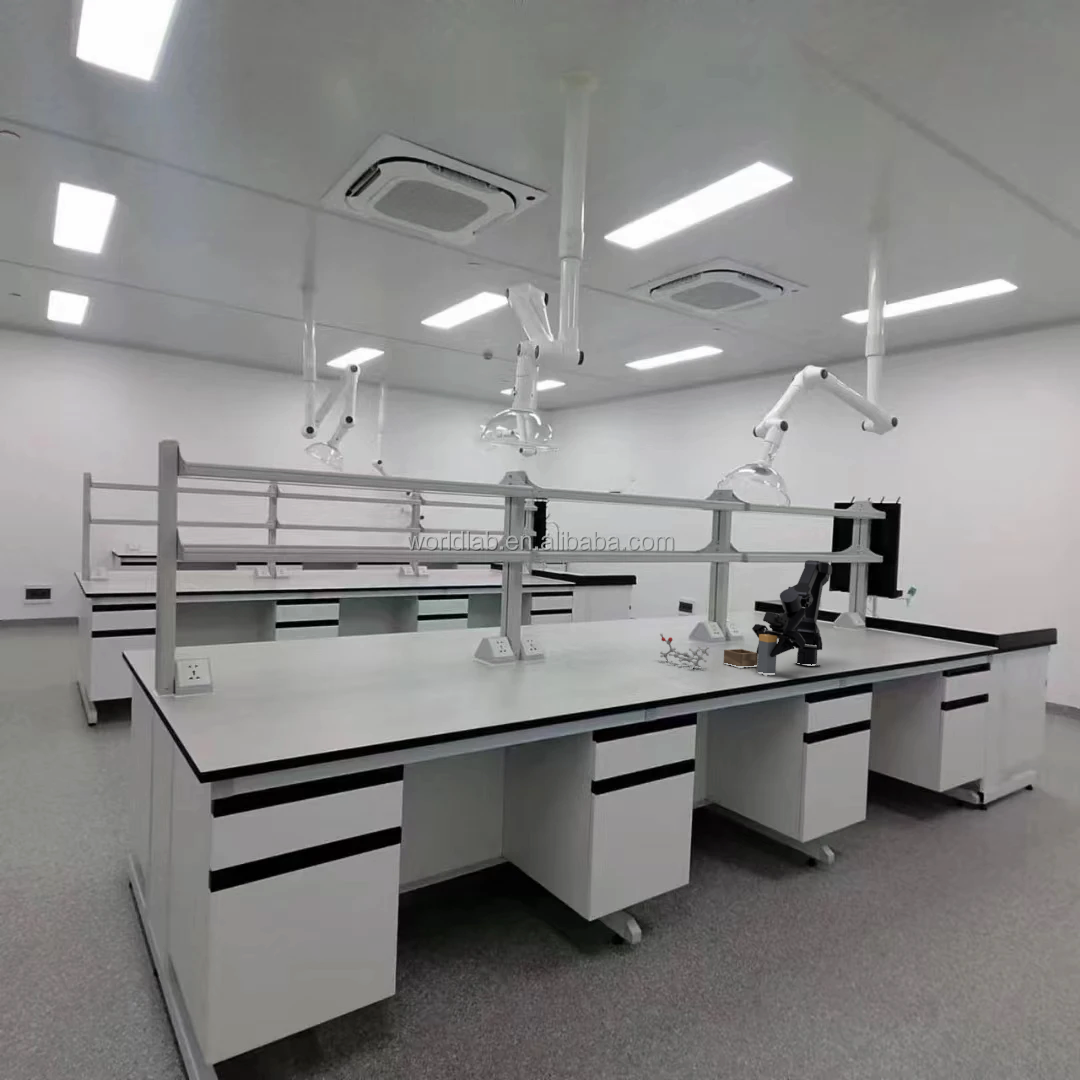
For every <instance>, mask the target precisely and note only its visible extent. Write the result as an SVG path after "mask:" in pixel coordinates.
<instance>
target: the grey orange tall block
mask: <svg viewBox="0 0 1080 1080" xmlns="http://www.w3.org/2000/svg"><path fill="white" fill-rule="evenodd" d="M777 643H778V639H777V636H775V635H770V634H759V638H758V644H759V647H758V646H757V647H758V663H757V667H756V669H757V671H758V672H763V673H775V674H776V670H777V669H776V668H777V666H776V665H777V655H776V656H774V657H771V656H770V654H771V652H772V650H773V649H774V647H775V646H776V644H777ZM757 671H756V672H757Z"/></svg>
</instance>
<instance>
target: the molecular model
mask: <svg viewBox="0 0 1080 1080" xmlns="http://www.w3.org/2000/svg"><path fill="white" fill-rule="evenodd" d="M659 635H660V637H661V641H662V642H666V645H668V646H669V651H667V652H663V651H660V653H659V654H660V656H659V657H660V658H665V661H666V660H667V661H668V660H669V659H668V657H671V656H672V657H674V658H676V659H677V658H678V662H679V663H682V662H684V661H685V662H688V663H693V665H692V667H693V668H694V667H695V668H696V667H698V668H699V667H701V668H702V665H700V664H699V662H700V661H701V660H702V661H703V662H704V663H707V659H706V658H703V657H704V656H703V655H704V654H705V655H706V656H710V654H709V652H707V651H708V650H709V649H710V646H709V645H707V646H706V648H704V649H703V648H702V646H700V645H699V646H698V647H697V649H696V650H693V648H692V647H689V648H688V651H690V652H691V653H692V655H691V654H689V652H688V651H685V652H680V651H679V650H676V649H677V648H676V647H672V645H671V643H672V641H674V640H673V637H671V636H670V637H668V639H666V637H664V634H663V633H662V632H660V633H659ZM700 650H701V654H700V655H699V654H698V652H700ZM695 656H696V657H695ZM694 660H696V661H694ZM668 662H669V661H668Z"/></svg>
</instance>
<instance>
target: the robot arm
mask: <svg viewBox="0 0 1080 1080" xmlns="http://www.w3.org/2000/svg"><path fill="white" fill-rule="evenodd" d="M832 574H833V566H832V565H831V564H830V563H829V562H828V561H820V560H810V559H808V560H805V561H804V568H803V570H802V572H801V574H800V577H799V580H798V581H797V584H795V585H792V586H788V587H787V589H784V590H783V591H781V593H779V599H780V602H781V604H782V605H781V606H782V608H783V610H784V613H783V612H779V613H776V612H771V611H766V612H765V614H764V616H763V619H762V621H763V622H765V623H767V624H768V627H769V628H768V627H767V626H766V625H765V624H759V623H755V624H754V625H753V626H752V628H751V629H752V631H753V632H754V633H755V635H756V637H757V638H758V639H759V634H770V635H775V636H777V644H776V646H775V647H774V649H773V650H772V652H771V654H770V656H771V657H774V656H776V657H777V656H778V655H780V654H783V653H785V652H787V651H790V650H794V649H795V648H796V649H797V656H796V657H797V658H796V662H797V663H800V664H811V665H812V664H816V663H817V662H818V651H822V650H823V640H822V636H821V633H820V628H819V626H818V624H817V621H818V615H819V609H820V604H821V597H822V593H823V587H824V586H825V585H826V584H827V583H829V581H830V576H831V575H832ZM770 629H771V630H770ZM758 647H759V643H758V644H757V647H756V651H755V652H756V653H757V654H758ZM817 664H818V663H817Z"/></svg>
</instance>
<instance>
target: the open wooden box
mask: <svg viewBox="0 0 1080 1080" xmlns="http://www.w3.org/2000/svg"><path fill="white" fill-rule="evenodd" d="M724 663H728V664H732V665H736V666H754V665H757V666H758V654H757V652H756V651H752V650H746V649H743V648H734V649H732V648H731V649H724V650H723V664H724Z"/></svg>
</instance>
